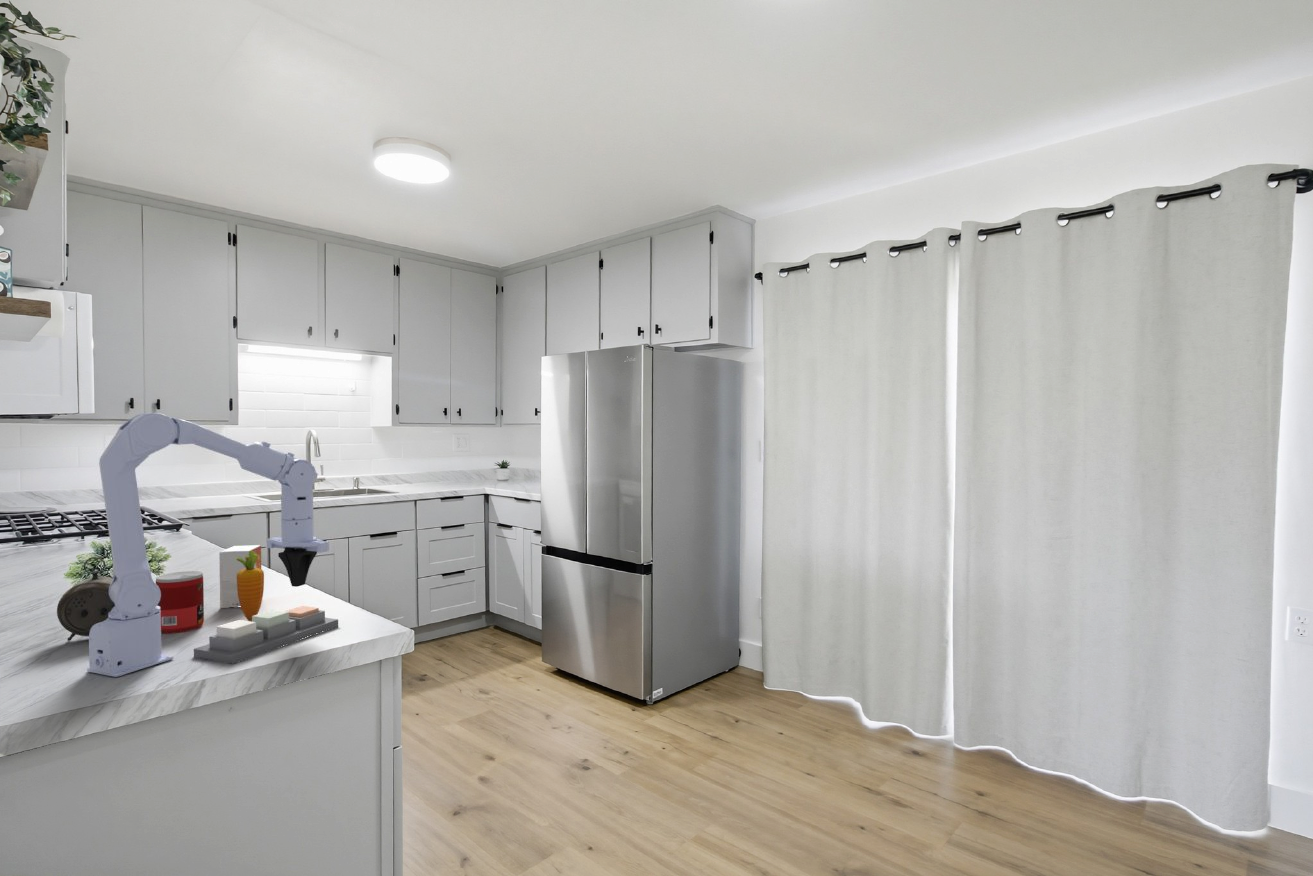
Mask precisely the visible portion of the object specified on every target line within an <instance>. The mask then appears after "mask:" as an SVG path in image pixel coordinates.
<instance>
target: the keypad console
mask: <svg viewBox="0 0 1313 876" xmlns="http://www.w3.org/2000/svg"><path fill="white" fill-rule="evenodd" d="M325 613H326V610H320V609H319V612H317V613H314V614H311V615H307V616H304V617H301V618H298V617H290V616H289V622H286V623H282V624H279V625H276V626H273V627H270V628H265V627H259V626H256V632H254V633H251V634H248V635H245V636H242V637H239V638H235V639H229V638H223V637H217V633H216V634H213V635H211V636H209V638H208V639H209V642H208V644H205V645H204V644H203V645H202V646H199V647H195V648H193V658H197V659H201V660H208V661H214V662H219V661H220V662H219V663H226V664H230V663H232V664H231V665H234V663H235V664H237V663H239V662H238V661H240V662H243V661H246V660H248V658H249V659H250V658H254V657H257V656H260V655H262V653H263V654H265V653H267V651H268V652H271V651H274V650H276V648H277V649H279V648H278V647H280V648H282V647H284V646H283V645H285V646H287V645H286V644H288V645H290V643H291V644H293V643H292V642H294V643H296V642H298V641H297V640H299V641H301V640H300V639H302V638H305V637H307V636H310V635H313V636H315V635H314V634H316V633H319V634H321V633H320V632H322V631H325V632H327V631H329V630H328V629H330V630H332V628H333V629H335V628H338V627H339V619H338V618H331V617H326V614H325ZM326 630H327V631H326ZM322 633H323V632H322ZM316 635H317V634H316ZM310 637H311V636H310ZM305 639H306V638H305ZM302 640H303V639H302ZM295 641H296V642H295ZM281 646H282V647H281ZM273 649H274V650H273ZM270 650H271V651H270ZM259 654H260V655H259ZM253 656H254V657H253ZM245 659H246V660H245Z"/></svg>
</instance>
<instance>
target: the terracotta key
mask: <svg viewBox="0 0 1313 876" xmlns="http://www.w3.org/2000/svg"><path fill="white" fill-rule="evenodd" d="M319 610H320V607H314V606H313V607H312V606H305V605H301V606H298V607H294V608H292V609H288V610H285V611H283V612H289V616H290V617H298V618H301V617H304V616H307V615H311V614H314V613H317V612H319Z"/></svg>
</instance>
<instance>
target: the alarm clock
mask: <svg viewBox="0 0 1313 876" xmlns="http://www.w3.org/2000/svg"><path fill="white" fill-rule="evenodd" d="M91 560H99V561H101V562H102V563H103V567H102V569H101V570H99V571H98V570H93V571H92V572H91V571H89V570H87V567H86V564H87V563H88V562H89V561H91ZM105 568H106V561H105V560H104V559H103V558H101V557H98V556H93V557H90V558H87V560H85V561H84V563H83V570H84V571H85V573H87V574H91V575H92V576H91V577H88V578H85V579H83V580H80V581H79V582H77V583H75V585H73V586H71V588H69V589H68V590H67V591H65V593H64V594H63V595H62V596H61V598H60V599H59V601H58V603H57V608H56V616H57V620H58V622H59V624H60V625H61V626H62V627H63V628H64V629H65V630H66V631H67V632H69V633H71V634H70V636H69V637H68V638H66V639H67V641H72V639H73V638H74V637H75V636H76V635H77V636H80V637H87V638H89V633H90V630H91V628H92V626H93V625H95V624H97V623H100V622H103V621H104V620H106V619H107V618H109V617H108V613H109V612H111V610H112V609H113V607H114V606H115V603H114V602H113V601H112V600H111V599H110V596H109V587H110V585H111V583H112V581H113V577H110V576H104V575H103V576H98V575H99V574H101V572H103V571H104V570H105Z"/></svg>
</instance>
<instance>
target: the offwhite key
mask: <svg viewBox="0 0 1313 876" xmlns="http://www.w3.org/2000/svg"><path fill="white" fill-rule="evenodd" d="M254 632H256V622H251V621H248V620H243V619H238V620H234V621H231V622H227V623H224V624H221V625H217V626H216V634H217V637H223V638H229V639H235V638H239V637H242V636H245V635H248V634H251V633H254Z"/></svg>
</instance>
